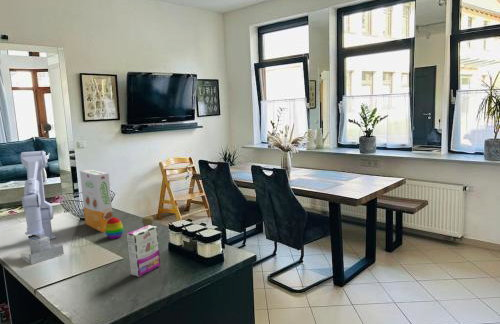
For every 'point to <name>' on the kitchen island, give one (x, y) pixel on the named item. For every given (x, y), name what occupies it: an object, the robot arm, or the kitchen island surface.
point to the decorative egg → (114, 228)
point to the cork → (147, 221)
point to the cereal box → (96, 198)
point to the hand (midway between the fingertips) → (37, 250)
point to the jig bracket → (43, 254)
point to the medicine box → (39, 244)
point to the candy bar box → (143, 250)
